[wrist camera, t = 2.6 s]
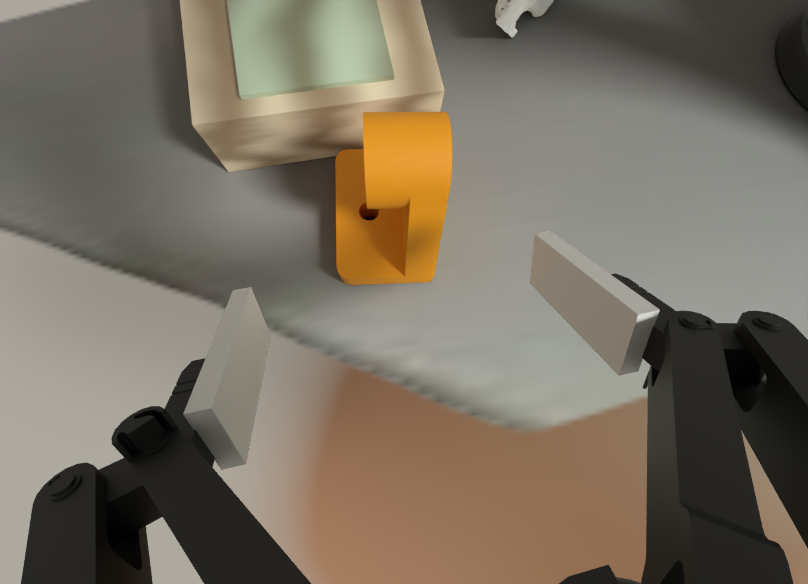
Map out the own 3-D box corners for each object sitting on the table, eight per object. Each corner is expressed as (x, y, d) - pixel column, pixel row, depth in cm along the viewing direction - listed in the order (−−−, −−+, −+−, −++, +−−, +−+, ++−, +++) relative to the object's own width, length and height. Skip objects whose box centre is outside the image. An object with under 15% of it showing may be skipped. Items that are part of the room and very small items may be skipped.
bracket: (339, 168, 31) (313, 47, 20) (421, 166, 32) (443, 48, 20) (340, 287, 29) (312, 231, 17) (429, 284, 29) (460, 228, 18)
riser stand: (397, 0, 35) (401, -80, 29) (433, 141, 32) (445, 86, 26) (210, 20, 34) (171, -60, 27) (228, 172, 30) (189, 121, 24)
